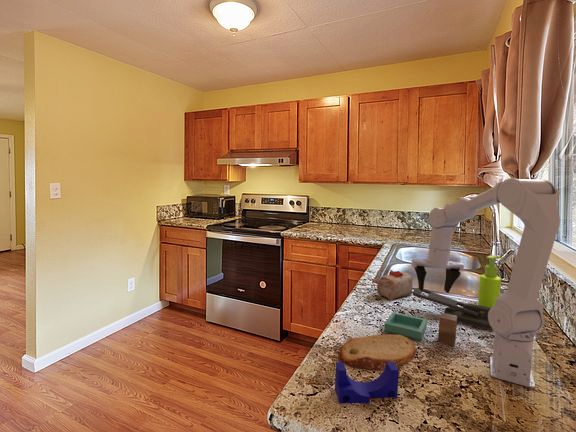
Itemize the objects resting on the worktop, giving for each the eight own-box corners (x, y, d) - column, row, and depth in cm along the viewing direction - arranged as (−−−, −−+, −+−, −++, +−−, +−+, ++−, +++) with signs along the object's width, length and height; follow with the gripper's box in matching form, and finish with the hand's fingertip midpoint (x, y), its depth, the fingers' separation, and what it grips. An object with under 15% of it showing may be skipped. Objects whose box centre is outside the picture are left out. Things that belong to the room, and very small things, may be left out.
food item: (391, 302, 118) (392, 275, 117) (374, 295, 124) (375, 270, 123) (414, 295, 125) (415, 270, 124) (397, 290, 132) (398, 266, 131)
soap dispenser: (504, 317, 105) (509, 257, 103) (489, 320, 103) (494, 258, 101) (487, 310, 111) (492, 253, 109) (473, 313, 108) (477, 254, 106)
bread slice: (415, 345, 86) (416, 331, 86) (417, 383, 70) (418, 366, 69) (348, 333, 93) (349, 320, 92) (335, 365, 76) (336, 350, 75)
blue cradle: (339, 404, 62) (340, 374, 61) (334, 389, 67) (335, 362, 66) (400, 403, 63) (401, 374, 62) (391, 389, 67) (393, 361, 66)
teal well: (420, 340, 88) (421, 332, 88) (384, 331, 93) (384, 323, 93) (426, 327, 96) (427, 319, 96) (392, 319, 102) (392, 312, 101)
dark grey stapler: (417, 286, 116) (500, 302, 101) (416, 303, 116) (498, 322, 101) (410, 292, 109) (498, 310, 94) (409, 311, 109) (496, 332, 94)
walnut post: (454, 346, 85) (456, 320, 85) (437, 342, 88) (439, 317, 87) (455, 340, 89) (457, 315, 88) (439, 336, 91) (441, 312, 90)
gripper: (459, 245, 99) (452, 287, 102) (411, 242, 100) (405, 283, 103) (469, 252, 92) (462, 296, 95) (417, 249, 94) (412, 292, 96)
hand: (433, 290), depth 99 cm, fingers open, 7 cm apart
